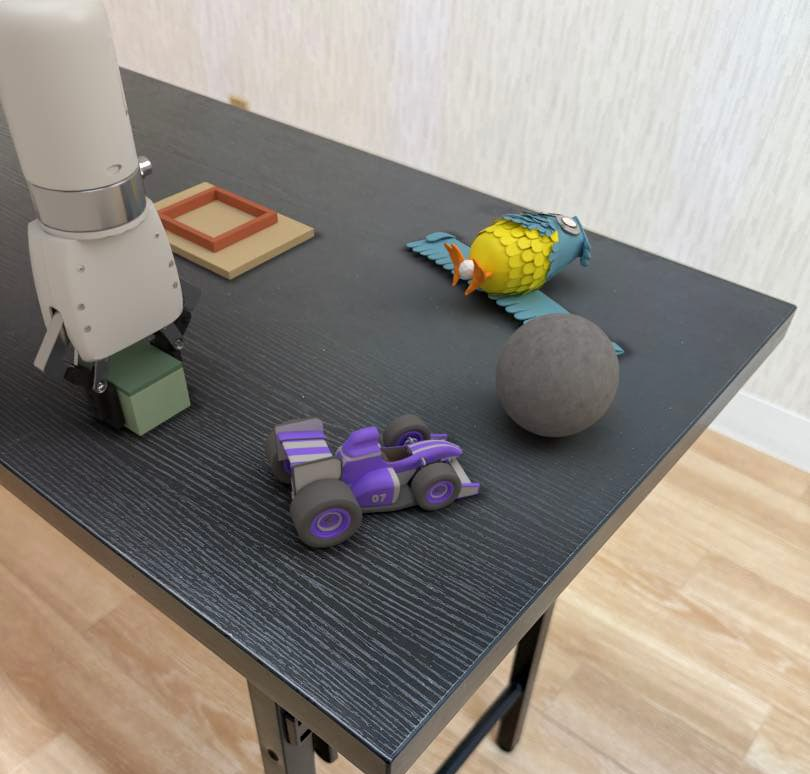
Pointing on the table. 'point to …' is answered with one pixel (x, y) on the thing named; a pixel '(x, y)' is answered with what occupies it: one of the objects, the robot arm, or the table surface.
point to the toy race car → (362, 474)
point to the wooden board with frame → (226, 229)
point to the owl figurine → (513, 259)
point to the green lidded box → (147, 385)
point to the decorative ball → (557, 375)
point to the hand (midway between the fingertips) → (141, 401)
